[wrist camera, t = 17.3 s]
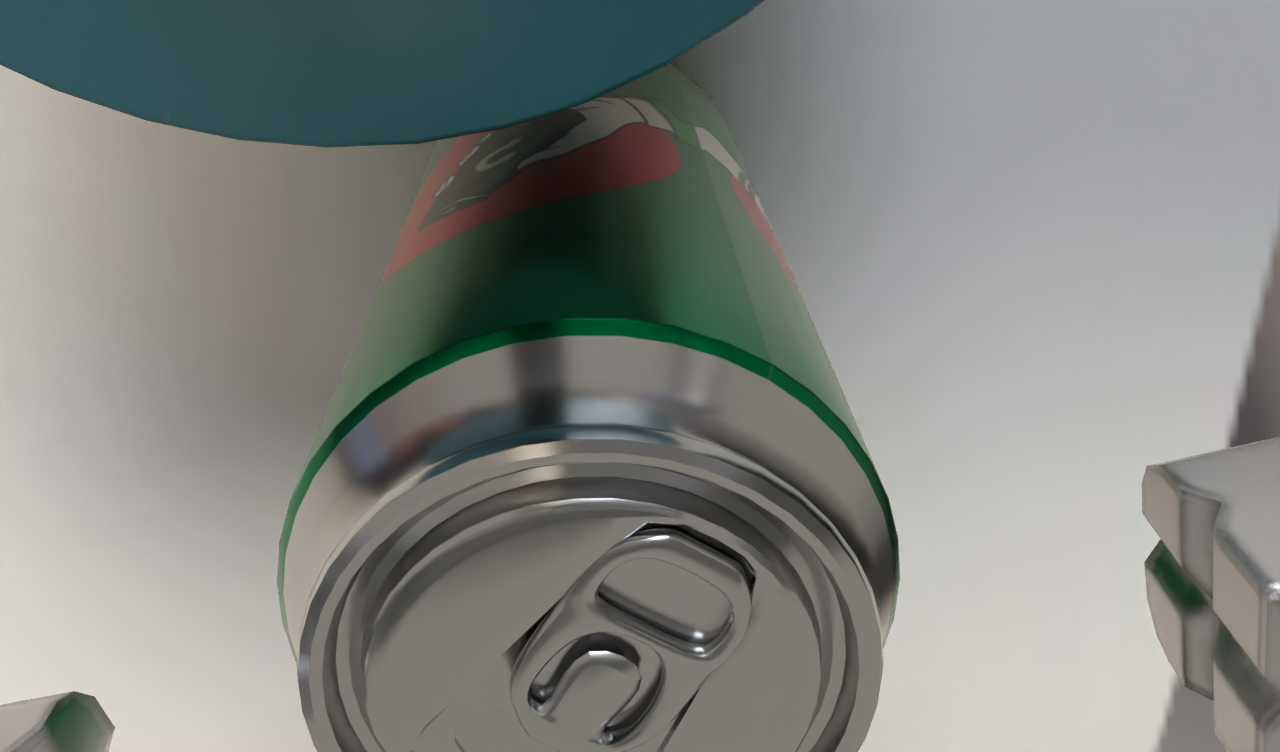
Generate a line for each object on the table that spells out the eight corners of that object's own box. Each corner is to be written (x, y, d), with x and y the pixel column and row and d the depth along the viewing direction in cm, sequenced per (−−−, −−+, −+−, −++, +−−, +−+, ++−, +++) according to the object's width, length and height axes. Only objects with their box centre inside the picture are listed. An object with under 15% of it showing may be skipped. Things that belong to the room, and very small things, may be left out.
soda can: (378, 236, 19) (128, 786, 9) (533, -33, 18) (457, 246, 7) (633, 378, 21) (687, 1001, 10) (801, 143, 19) (1080, 599, 8)
